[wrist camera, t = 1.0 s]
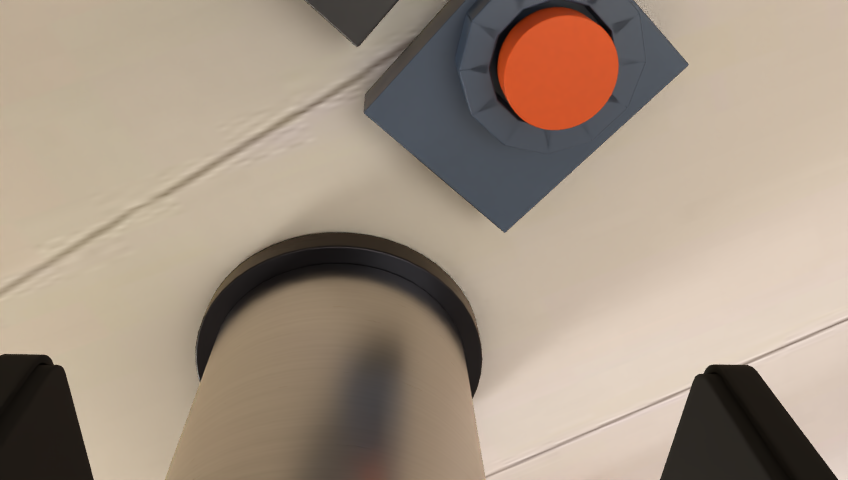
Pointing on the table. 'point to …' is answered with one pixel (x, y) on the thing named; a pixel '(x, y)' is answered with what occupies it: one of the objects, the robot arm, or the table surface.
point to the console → (353, 15)
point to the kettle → (334, 369)
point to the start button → (557, 68)
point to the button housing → (490, 110)
